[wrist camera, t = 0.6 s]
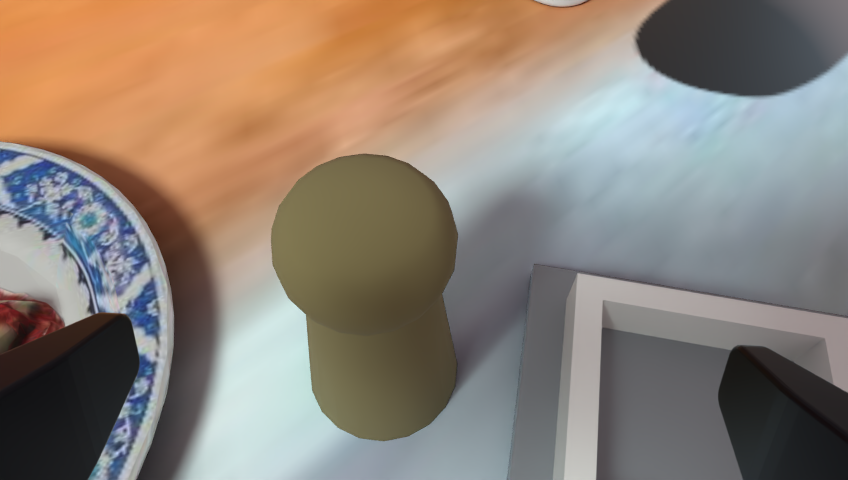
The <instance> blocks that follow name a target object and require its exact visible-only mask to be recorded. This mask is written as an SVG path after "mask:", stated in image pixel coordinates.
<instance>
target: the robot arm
mask: <svg viewBox="0 0 848 480" xmlns="http://www.w3.org/2000/svg"><path fill="white" fill-rule="evenodd" d="M139 365H140V358H139V353H138V348H137V344H136V339H135V335H134V330H133V326H132V322H131V320H130V318H129V317H128V316H127V315H126V314H123V313H106V312H100V313H96V314H94V315H91V316H89V317H87V318H84V319H82V320H80V321H77V322H75V323H73V324H70V325H68V326H66V327H63V328H61V329H58V330H56V331H54V332H51V333H49V334H47V335H44V336H42V337H40V338H37V339H35V340H33V341H30V342H28V343H26V344H23V345H21V346H19V347H16V348H14V349H12V350H9V351H7V352H5V353H2V354H0V480H88V479H89V477H90V475H91V473H92V471H93V470H94V468H95V466H96V464H97V462H98V460H99V458H100V456H101V454H102V452H103V450H104V448H105V446H106V444H107V441H108V439H109V437H110V435H111V432H112V430H113V428H114V426H115V424H116V421H117V419H118V417H119V415H120V412H121V410H122V408H123V406H124V403H125V401H126V399H127V397H128V394H129V392H130V390H131V388H132V386H133V383H134V381H135V379H136V377H137V374H138V371H139ZM718 402H719V407H720V410H721V413H722V417H723V420H724V423H725V426H726V429H727V432H728V435H729V438H730V442H731V445H732V448H733V451H734V454H735V457H736V460H737V463H738V467H739V470H740V473H741V476H742V479H743V480H848V392H846V391H844V390H842V389H840V388H839V387H837V386H835V385H833V384H832V383H830V382H828V381H826V380H824V379H823V378H821V377H819V376H817V375H815V374H814V373H812V372H810V371H808V370H807V369H805V368H803V367H801V366H799V365H798V364H796V363H794V362H792V361H790V360H789V359H787V358H785V357H783V356H781V355H780V354H778V353H776V352H774V351H773V350H771V349H769V348H767V347H764V346H754V345H737V346H735V347H733V348H732V350H731V351H730V354H729V356H728V360H727V363H726V366H725V369H724V373H723V376H722V379H721V382H720V386H719V390H718Z"/></svg>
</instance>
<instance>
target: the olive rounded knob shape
mask: <svg viewBox="0 0 848 480" xmlns="http://www.w3.org/2000/svg"><path fill="white" fill-rule="evenodd" d="M457 239H458V233H457V229H456V225H455V222H454V218H453V214H452V211H451V208H450V205H449V202H448V200H447V199H446V198H445V196H444V195H443V194H442V192H441V191H440V189H439V188H438V187H437V185H436V184H435V183H434V182H433V181H432V180H431V179H429V178H428V177H427V176H426V175H424V174H423V173H421V172H420V171H419V170H417V169H416V168H414V167H413V166H412V165H410V164H409V163H406V162H403V161H400V160H397V159H395V158H392V157H389V156H383V155H373V154H358V155H351V156H344V157H338V158H336V159H334V160H331V161H329V162H326V163H324V164H321V165H319V166H317V167H315V168H314V169H313V170H311V171H310V172H308V173H307V174H306V175H304V176H303V177H302V178H300V179H299V180H298V181H297V182H296V184H295V185H294V186H293V188H292V189H291V190H290V192H289V193H288V194H287V196H286V197H285V199H284V200H283V201H282V203H281V204H280V205H279V208H278V211H277V214H276V217H275V220H274V223H273V226H272V232H271V246H272V262H273V267H274V269H275V271H276V273H277V276H278V278H279V280H280V282H281V284H282V286H283V288H284V290H285V292H286V294H287V296H288V298H289V299H290V300H291V301H292V302H293V303H294V304H295V305H296V306H297V307H298V308H299V309H301V310H302V311H303V312H304V313H305V314H306V320H307V333H308V346H309V358H310V371H311V381H312V391H313V393H314V395H315V398H316V400H317V402H318V404H319V406H320V408H321V410H322V412H323V413H324V414H325V415H326V416H327V417H328V418H329V419H330V420H331V421H332V422H333V423H334V424H335V425H336V426H337V427H338V428H340V429H342V430H344V431H346V432H348V433H350V434H352V435H354V436H356V437H358V438H363V439H371V440H379V441H387V440H392V439H397V438H402V437H407V436H410V435H411V434H413V433H415V432H417V431H419V430H420V429H422V428H424V427H426V426H427V425H429V424H430V423H431V422H432V421H433V420H434V419H435V418H436V417H437V416H438V415H439V414H440V412H441V411H442V410H443V409H444V408H445V407H446V405H447V403H448V401H449V398H450V396H451V394H452V392H453V389H454V387H455V382H456V371H457V361H456V356H455V351H454V347H453V342H452V338H451V333H450V328H449V324H448V319H447V315H446V310H445V306H444V301H443V296H442V293H443V291H444V289H445V287H446V285H447V283H448V281H449V279H450V277H451V275H452V273H453V271H454V267H455V258H456V249H457Z"/></svg>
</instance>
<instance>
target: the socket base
mask: <svg viewBox="0 0 848 480" xmlns="http://www.w3.org/2000/svg"><path fill="white" fill-rule="evenodd" d="M737 345H754V346H764V347H767V348H769V349H771V350H773V351H774V352H776V353H778V354H780V355H781V356H783V357H785V358H787V359H789V360H790V361H792V362H794V363H796V364H798V365H799V366H801V367H803V368H805V369H807V370H808V371H810V372H812V373H814V374H815V375H817V376H819V377H821V378H823V379H824V380H826V381H828V382H830V383H832V384H833V385H835V386H837V387H839V388H840V389H842V390H844V391H846V392H848V316H843V315H837V314H831V313H825V312H819V311H813V310H807V309H801V308H795V307H789V306H783V305H777V304H771V303H765V302H759V301H753V300H747V299H741V298H735V297H729V296H723V295H717V294H711V293H705V292H699V291H693V290H687V289H681V288H675V287H670V286H664V285H658V284H652V283H646V282H640V281H634V280H628V279H622V278H616V277H610V276H604V275H598V274H592V273H586V272H580V271H574V270H568V269H562V268H556V267H550V266H544V265H538V264H534V266H533V270H532V273H531V278H530V286H529V295H528V304H527V312H526V321H525V329H524V338H523V347H522V355H521V364H520V373H519V381H518V390H517V398H516V407H515V416H514V424H513V433H512V441H511V450H510V459H509V467H508V476H507V480H743V479H742V476H741V473H740V470H739V467H738V463H737V460H736V457H735V454H734V451H733V448H732V445H731V442H730V438H729V435H728V432H727V429H726V426H725V423H724V420H723V417H722V413H721V410H720V407H719V402H718V390H719V386H720V382H721V379H722V376H723V373H724V369H725V366H726V363H727V360H728V356H729V354H730V351H731V350H732V348H733V347H735V346H737Z"/></svg>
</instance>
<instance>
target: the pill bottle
mask: <svg viewBox="0 0 848 480" xmlns="http://www.w3.org/2000/svg"><path fill="white" fill-rule="evenodd" d="M535 1H537V2H539V3H542V4H546V5H550V6H557V7H568V6H574V5H578V4H581V3H583V2H585V1H587V0H535Z"/></svg>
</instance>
